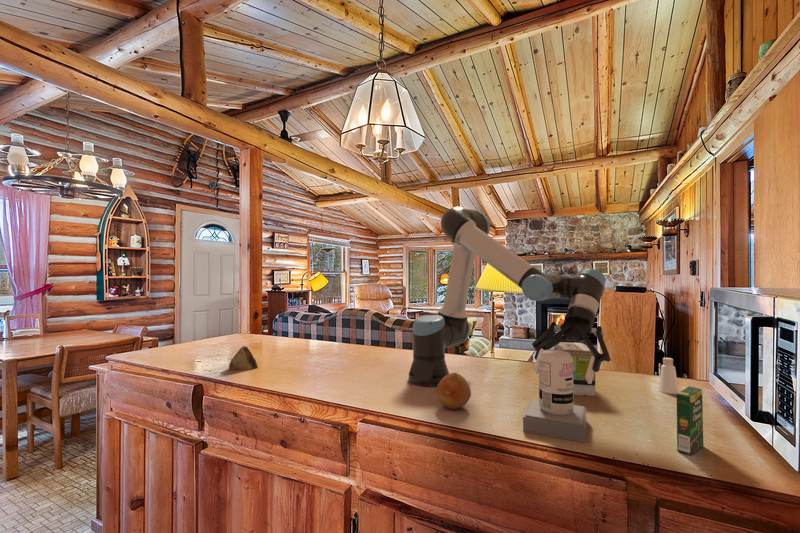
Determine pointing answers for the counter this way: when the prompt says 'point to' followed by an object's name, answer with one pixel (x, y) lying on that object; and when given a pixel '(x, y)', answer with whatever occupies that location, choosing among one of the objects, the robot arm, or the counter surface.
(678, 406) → the coffee box
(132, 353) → the counter surface
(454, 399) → the onion
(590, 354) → the tea box
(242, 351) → the rock
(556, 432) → the base block
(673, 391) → the pepper shaker
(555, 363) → the supplement can
